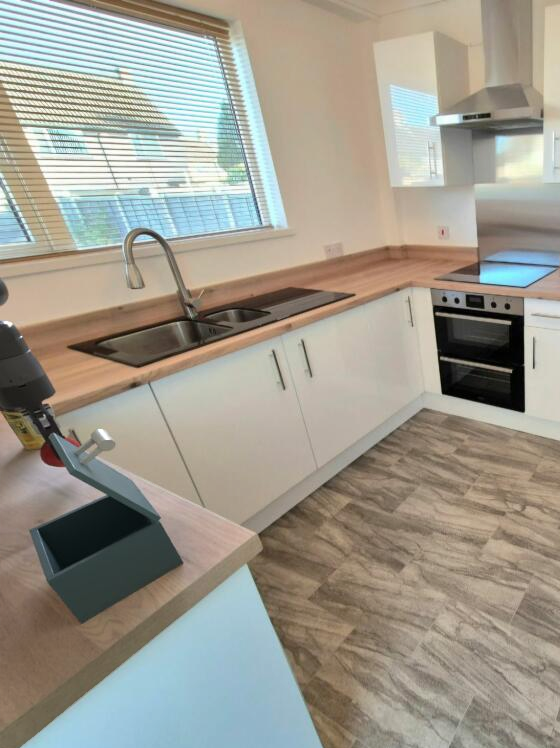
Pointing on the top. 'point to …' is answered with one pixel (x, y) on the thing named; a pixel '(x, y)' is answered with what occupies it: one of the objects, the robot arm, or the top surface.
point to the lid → (102, 471)
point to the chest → (102, 555)
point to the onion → (49, 456)
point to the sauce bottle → (22, 428)
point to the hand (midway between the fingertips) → (61, 452)
